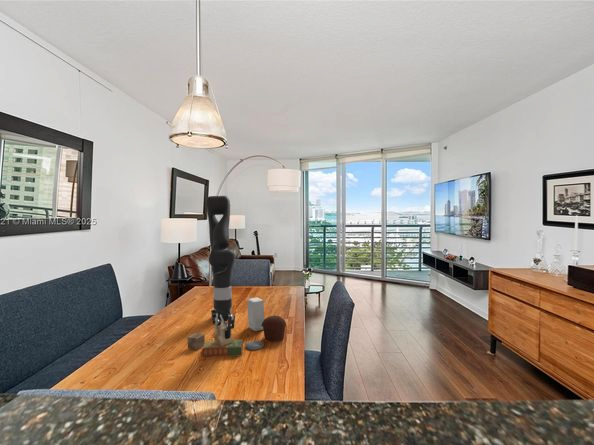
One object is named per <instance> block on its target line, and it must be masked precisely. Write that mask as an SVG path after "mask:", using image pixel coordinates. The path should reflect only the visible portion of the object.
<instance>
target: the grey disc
mask: <svg viewBox="0 0 594 445" xmlns="http://www.w3.org/2000/svg"><path fill="white" fill-rule="evenodd" d="M264 345H265V344H264V342H263V341H262V340H261V341H260V340H251V341H247V342H246V343H245V348H244V349H246V350H248V351H258V350H262V349H263V348H264Z"/></svg>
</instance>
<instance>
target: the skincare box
mask: <svg viewBox="0 0 594 445" xmlns="http://www.w3.org/2000/svg"><path fill="white" fill-rule="evenodd" d="M246 302H247V304H246V305H247V320H248V321H247V322H248V325H247V326H248V328H249V329H250V330H252V331H253V332H258V331H264V330H263V327H262V326H261V324H262V322H263V321H264V319H265V309H264V308H265V305H264V302H265V301H264V300H263V299H262V298H259V297H257V296H256V297H251V298H247V300H246Z"/></svg>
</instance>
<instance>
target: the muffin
mask: <svg viewBox="0 0 594 445" xmlns="http://www.w3.org/2000/svg"><path fill="white" fill-rule="evenodd" d="M261 326H262V327H263V330H262V331H263V336H264V340H265V341H267V342H272V343H273V342H274V343H276V342H281V341H282V340H283V339H284V338H285V331H286V326H287V322H286V320H285V319H284V318H283V317H281V316H279V315H270V316H268V317H266V318H264V321H263V322H262V324H261Z"/></svg>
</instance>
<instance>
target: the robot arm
mask: <svg viewBox="0 0 594 445" xmlns="http://www.w3.org/2000/svg"><path fill="white" fill-rule="evenodd" d="M205 202H206V203H205V204H206V213H207V220H208V229H209V243H210V252H209V255H208V263H209V265H210V266H211V272H212V274H213V291H212V292H213V293H212V294H213V296H212V297H213V298H212V299H213V303H212V304H213V309H211V310H210V312H211V313H210V314H211V320H212V321H211V322H212V324H213V325H214V327H215V326H218V325H221V324H223V325H224V327H225V339H229V338H230V336H231V334H232V332H231V333H230V330H231V331H232V330H234V329H235V321H236V315H235V314H232V311H233V310H232V309H233V302H232V301H233V299H232V297H233V296H232V295H233V294H232V293H233V292H232V269H233V266H234V262H235V259H236V256H235V255H236V254H235V252H234V251H233V249H230V248H229V246H230V233H229V232H230V231H229V230H230V218H231V203H230V202H231V201H230V198H229V196H228V195H211V196H207V198H206V200H205ZM221 215H222V217H221V218H220V220H218V219H217V217H216V216H221ZM228 248H229V249H228ZM227 325H228V327H227Z"/></svg>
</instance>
